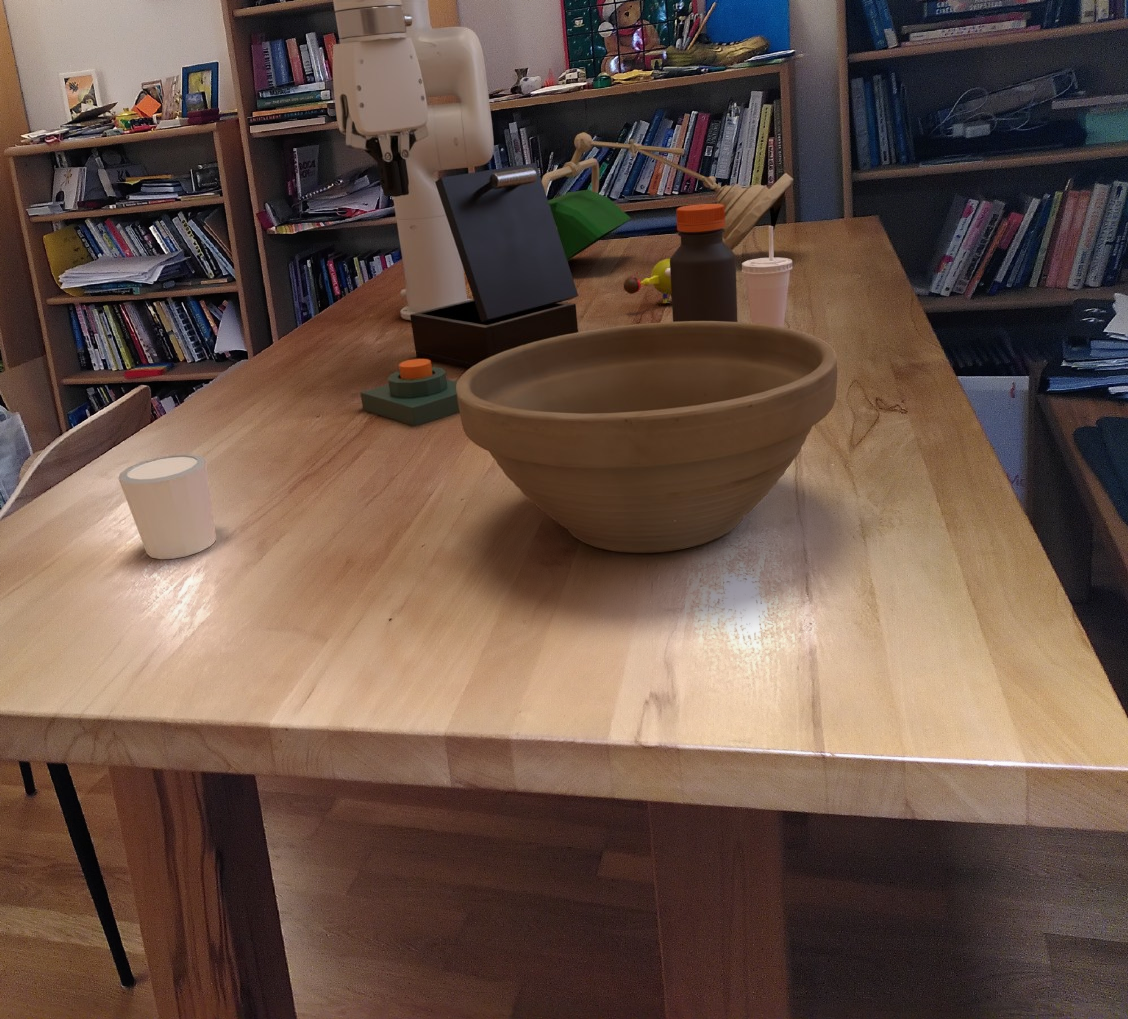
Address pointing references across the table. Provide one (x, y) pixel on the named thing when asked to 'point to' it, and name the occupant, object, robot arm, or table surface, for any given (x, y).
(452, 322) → the dark open lidded box
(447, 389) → the button block
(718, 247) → the bottle
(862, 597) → the table surface
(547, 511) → the brown mixing bowl
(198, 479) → the white cylinder
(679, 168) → the desk lamp
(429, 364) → the button
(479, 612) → the table surface
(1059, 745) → the table surface
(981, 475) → the table surface
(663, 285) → the toy figure
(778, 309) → the smoothie
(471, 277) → the grill lid
